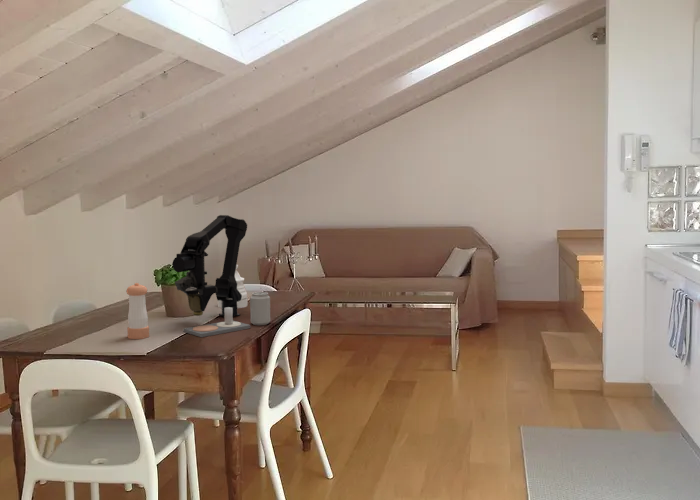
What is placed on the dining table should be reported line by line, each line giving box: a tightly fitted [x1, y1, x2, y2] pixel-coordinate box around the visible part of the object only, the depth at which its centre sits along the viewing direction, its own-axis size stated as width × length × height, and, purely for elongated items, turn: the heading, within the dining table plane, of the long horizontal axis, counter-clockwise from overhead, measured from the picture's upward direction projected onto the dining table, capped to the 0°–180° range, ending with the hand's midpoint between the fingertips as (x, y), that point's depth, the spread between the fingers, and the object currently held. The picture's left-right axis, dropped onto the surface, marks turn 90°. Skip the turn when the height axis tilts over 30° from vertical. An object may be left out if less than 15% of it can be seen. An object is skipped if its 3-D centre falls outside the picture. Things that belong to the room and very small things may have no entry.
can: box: [249, 291, 271, 326], centre depth 268 cm, size 8×8×12 cm
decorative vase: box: [187, 292, 204, 317], centre depth 266 cm, size 8×7×8 cm
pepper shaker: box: [126, 282, 150, 340], centre depth 246 cm, size 7×7×19 cm
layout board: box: [183, 307, 251, 338], centre depth 258 cm, size 12×21×8 cm, turn 133°
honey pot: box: [217, 264, 249, 309], centre depth 304 cm, size 13×13×18 cm
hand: (198, 309), depth 267 cm, fingers closed on decorative vase, 6 cm apart
